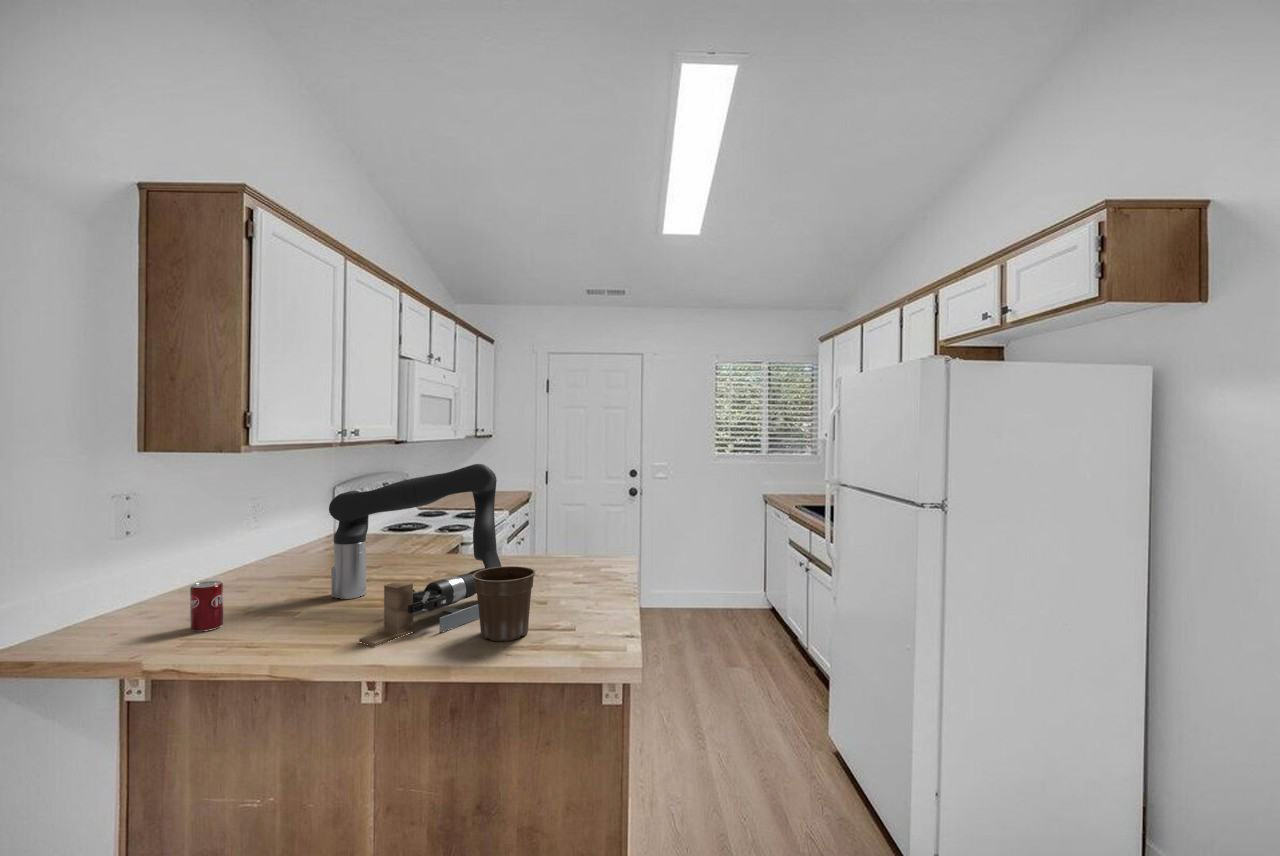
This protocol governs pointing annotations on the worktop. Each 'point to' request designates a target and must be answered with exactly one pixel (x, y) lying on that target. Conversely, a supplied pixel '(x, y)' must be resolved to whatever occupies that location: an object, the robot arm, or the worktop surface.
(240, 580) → the worktop surface
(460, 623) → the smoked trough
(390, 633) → the walnut post stand
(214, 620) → the soda can
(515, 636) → the plant pot
